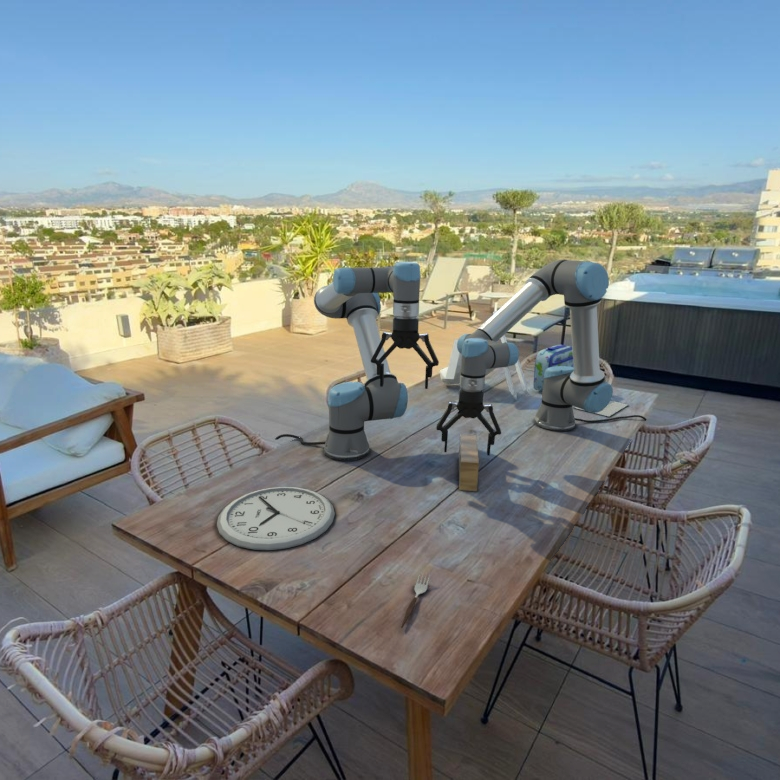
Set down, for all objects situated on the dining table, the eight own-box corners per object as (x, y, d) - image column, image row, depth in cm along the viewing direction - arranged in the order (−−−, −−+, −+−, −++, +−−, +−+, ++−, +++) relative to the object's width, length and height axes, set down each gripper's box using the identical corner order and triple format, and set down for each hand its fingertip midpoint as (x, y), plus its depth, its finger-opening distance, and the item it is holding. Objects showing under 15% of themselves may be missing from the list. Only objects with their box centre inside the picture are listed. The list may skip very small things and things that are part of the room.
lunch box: (550, 397, 237) (555, 352, 231) (529, 391, 245) (533, 348, 238) (577, 386, 255) (582, 344, 249) (556, 381, 262) (561, 340, 256)
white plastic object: (461, 429, 252) (437, 405, 227) (444, 352, 274) (420, 323, 250) (535, 404, 240) (518, 377, 215) (510, 326, 262) (492, 293, 237)
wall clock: (333, 542, 123) (202, 546, 121) (333, 547, 124) (203, 552, 121) (335, 482, 152) (229, 485, 149) (335, 487, 152) (230, 490, 150)
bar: (458, 459, 173) (460, 433, 170) (474, 460, 172) (476, 434, 170) (459, 490, 152) (460, 462, 150) (476, 491, 152) (478, 463, 149)
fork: (394, 628, 99) (394, 619, 99) (419, 578, 113) (419, 570, 113) (407, 632, 98) (408, 623, 98) (430, 581, 113) (431, 573, 112)
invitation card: (608, 416, 214) (573, 407, 224) (608, 416, 214) (573, 408, 224) (628, 404, 229) (594, 396, 238) (628, 405, 229) (594, 397, 238)
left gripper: (361, 317, 150) (361, 387, 156) (448, 320, 147) (445, 392, 154) (365, 313, 157) (365, 380, 164) (448, 316, 155) (445, 385, 161)
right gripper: (430, 389, 159) (427, 453, 165) (514, 395, 156) (507, 460, 163) (431, 383, 166) (428, 444, 172) (511, 387, 164) (505, 450, 170)
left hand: (404, 386), depth 159 cm, fingers open, 13 cm apart
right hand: (466, 452), depth 168 cm, fingers open, 13 cm apart
